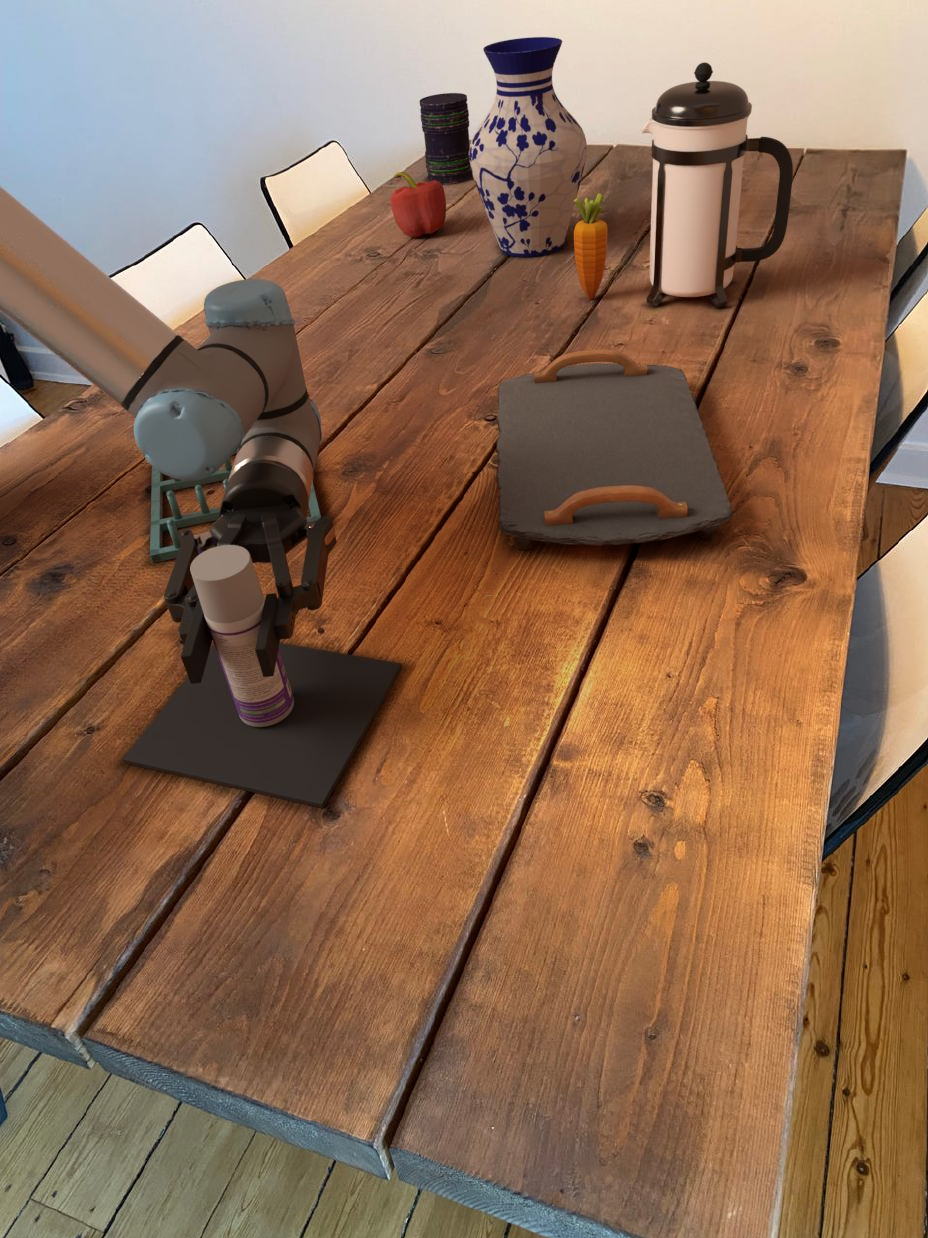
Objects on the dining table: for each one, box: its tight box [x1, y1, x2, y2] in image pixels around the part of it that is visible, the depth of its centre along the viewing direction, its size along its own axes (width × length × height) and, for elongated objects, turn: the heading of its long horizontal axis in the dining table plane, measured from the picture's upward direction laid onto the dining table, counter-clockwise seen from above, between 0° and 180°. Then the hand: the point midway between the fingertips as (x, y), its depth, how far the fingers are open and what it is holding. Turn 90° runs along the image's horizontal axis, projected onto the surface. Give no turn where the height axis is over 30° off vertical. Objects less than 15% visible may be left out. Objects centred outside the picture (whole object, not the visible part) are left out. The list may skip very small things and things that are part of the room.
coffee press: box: [640, 62, 794, 309], centre depth 130 cm, size 17×16×30 cm
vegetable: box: [390, 171, 447, 238], centre depth 170 cm, size 11×10×10 cm
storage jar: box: [418, 92, 474, 185], centre depth 195 cm, size 10×10×15 cm
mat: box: [122, 642, 403, 809], centre depth 79 cm, size 18×16×1 cm
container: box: [190, 545, 294, 727], centre depth 74 cm, size 5×5×15 cm
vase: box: [469, 36, 588, 258], centre depth 153 cm, size 19×19×30 cm
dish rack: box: [149, 450, 322, 564], centre depth 106 cm, size 18×21×4 cm
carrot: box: [573, 192, 608, 301], centre depth 137 cm, size 5×5×15 cm
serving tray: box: [495, 348, 733, 552], centre depth 104 cm, size 39×23×6 cm, turn 179°
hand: (227, 666), depth 69 cm, fingers closed on container, 5 cm apart
